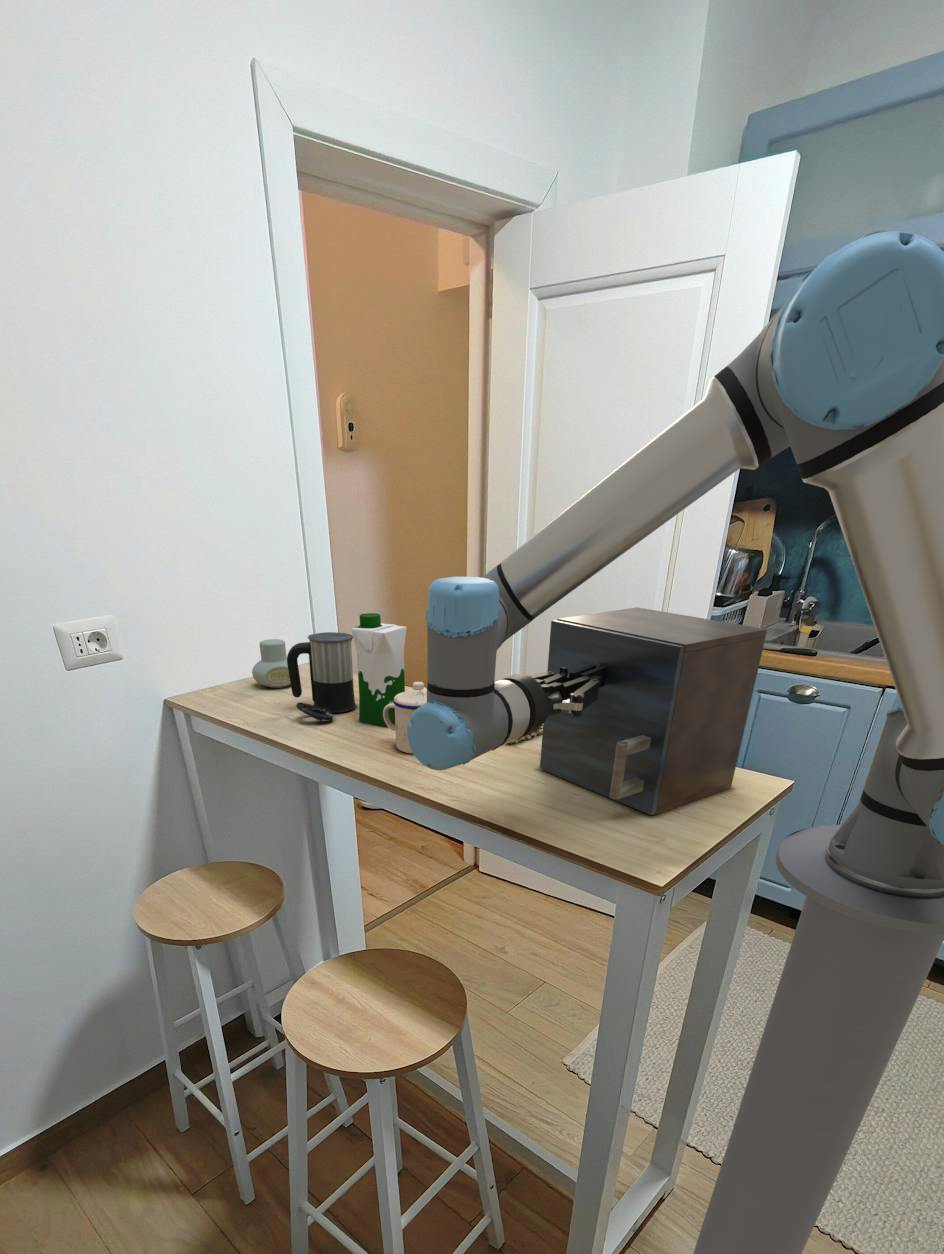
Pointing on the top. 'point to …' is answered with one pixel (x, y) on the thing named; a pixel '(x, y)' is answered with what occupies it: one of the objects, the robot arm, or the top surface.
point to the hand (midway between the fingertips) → (598, 675)
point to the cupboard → (697, 695)
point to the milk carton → (378, 666)
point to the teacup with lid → (405, 713)
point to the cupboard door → (614, 714)
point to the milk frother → (325, 674)
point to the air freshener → (272, 664)
